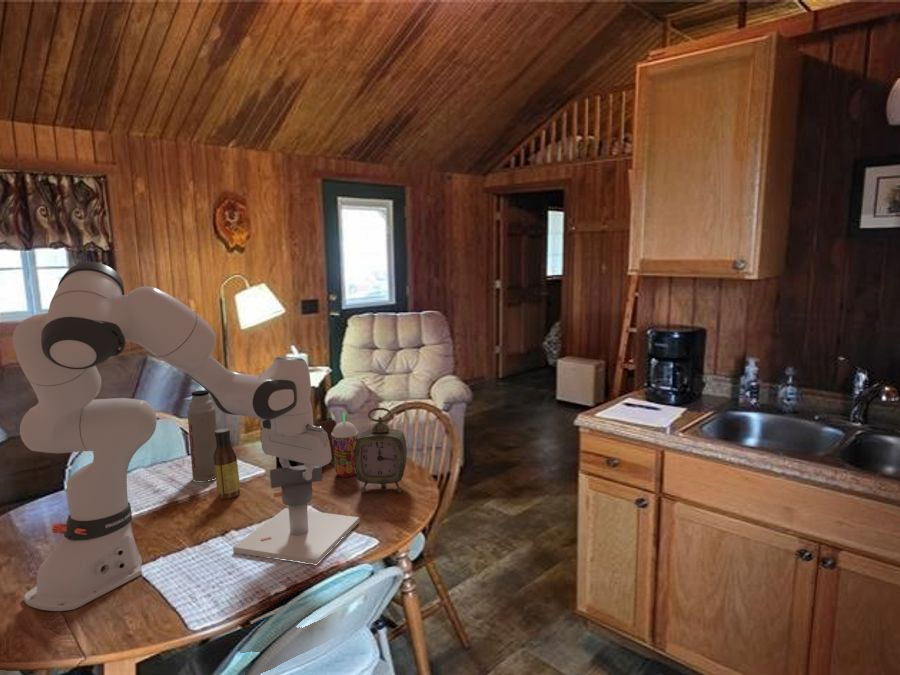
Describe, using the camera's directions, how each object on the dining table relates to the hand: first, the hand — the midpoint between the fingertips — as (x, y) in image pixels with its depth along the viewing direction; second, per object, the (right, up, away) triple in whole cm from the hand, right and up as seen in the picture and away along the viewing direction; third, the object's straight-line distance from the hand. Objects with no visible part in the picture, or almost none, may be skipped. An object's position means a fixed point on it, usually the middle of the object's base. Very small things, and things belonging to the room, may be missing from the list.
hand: (297, 476), depth 141 cm
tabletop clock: (+17, -11, +31) cm, 37 cm away
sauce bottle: (-28, -12, +28) cm, 41 cm away
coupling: (0, -6, +1) cm, 6 cm away
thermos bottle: (-40, -11, +42) cm, 59 cm away
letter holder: (-11, -9, +55) cm, 56 cm away
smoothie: (+4, -10, +43) cm, 44 cm away
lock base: (0, -15, +2) cm, 16 cm away
